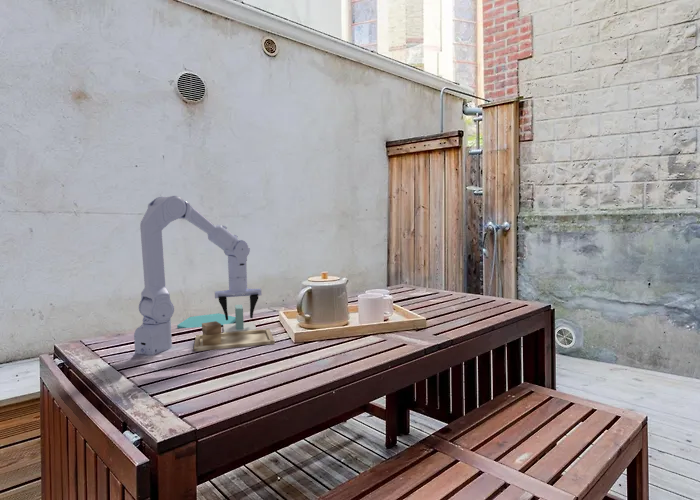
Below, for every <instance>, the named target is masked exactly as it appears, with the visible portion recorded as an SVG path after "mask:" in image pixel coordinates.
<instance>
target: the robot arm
mask: <svg viewBox="0 0 700 500" xmlns="http://www.w3.org/2000/svg"><path fill="white" fill-rule="evenodd" d="M176 220H185V221H187V222H189V223H191V225H193V226H195V227H196V228H198V229H199V230H201V231H203V232H204V233H206V235H207V239H208V240H209V241H210V242H211V243H213V244H214V245H215V246H217V247H218V248H220V249H221V250H222V251H223V253H224V254H225V256H227V266H228V267H227V268H228V270H227V271H228V273H227V274H228V289H226V290H216V291H214V298H215V299H218V302H219V304H220V306H221V308H222V311H223V314H224V315H225V317H226V320H228V316H229V314H228V313H229V312H228V299H227V298H235V297H236V298H237V297H238V298H239V297H249V317H250V319H253V317H254V311H255V308H256V305H257V302H258V301H259V296H262V295H263V294H262V289H261V288H248V272H247V271H248V269H247V261H248V257H249V255H250V252H251V248H250V247H249V245H248V243H247V242H246V241H245V240H243V239H239V238H238V235H237V234H233V233H232V232H230V230H228V227H227V226H226V225H221V224H217V225H216V224H215V225H214V224H213V223H212V222H211V221H210V220H209V219H208V218H206V217H205V216H204V215H203V214H202V213H201V212H199V211H198V210H197V208H194V207H193V206H192V205H191V204H190V202H188V201H186V200H184V199H183V198H182V197H180V196H178V195H170V196H158V197H156V198H154V199H152V200H151V202H149V203H148V204H147V210H146V211H145V213H144V215H143V217H142V219H141V220H140V223H139V224H140V227H139V228H140V229H139V230H140V240H141V254H142V269H143V281H144V288H143V290H142V291H141V293H140V297H141V298H140V302H139V303H138V311H139V313H140V314H141V316H143V317H142V323H141V325H140V326H138V327H137V328H136V329H135V330H134V334H133V339H134V353H135V354H138V355H139V354H140V355H146V356H148V355H149V356H154V355H157V354H158V353H161V352H165V351H167V350H170V349H171V348H173V342H172V341H173V339H172V322H171V319H172V317H173V315H174V313H175V306H174V303H173V302H172V300H171V295H170V292H169V291H168V289H167V285H166V277H165V275H166V274H165V262H164V247H163V230H164V229H165V228H166V227H167V226H168V225H170V223H172V222H174V221H176ZM135 354H132V357H134V356H135Z"/></svg>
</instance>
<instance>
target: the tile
mask: <svg viewBox="0 0 700 500" xmlns="http://www.w3.org/2000/svg"><path fill="white" fill-rule="evenodd" d="M243 324H244V329H240V330H236V322H234V323H233V324H223V325H222V326H223V333H225V332H236V331H248V330H257V327H256V323H255V321H249V322H248V321H247V322H243Z"/></svg>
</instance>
